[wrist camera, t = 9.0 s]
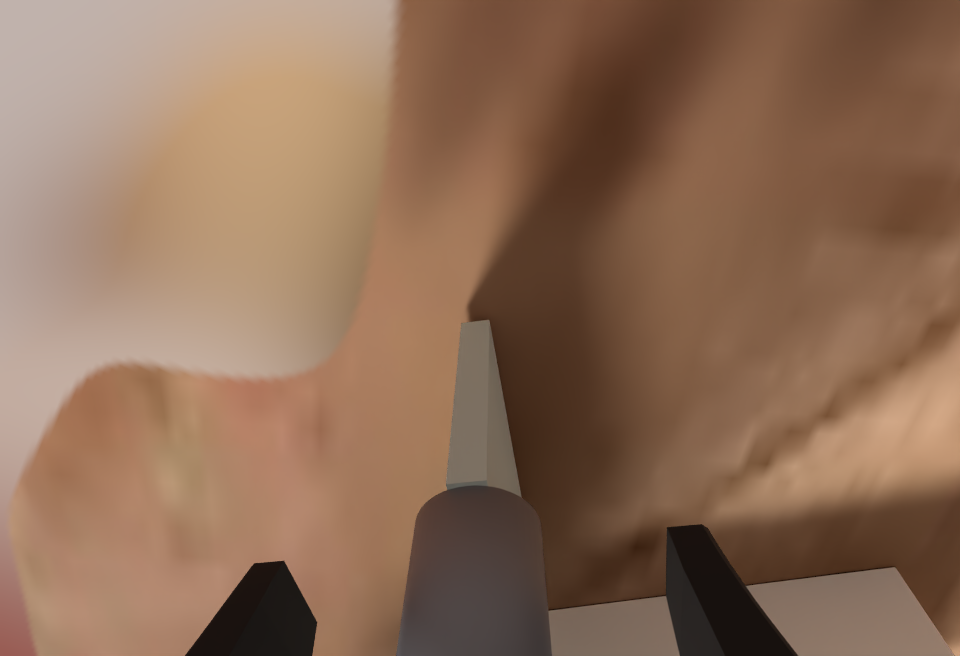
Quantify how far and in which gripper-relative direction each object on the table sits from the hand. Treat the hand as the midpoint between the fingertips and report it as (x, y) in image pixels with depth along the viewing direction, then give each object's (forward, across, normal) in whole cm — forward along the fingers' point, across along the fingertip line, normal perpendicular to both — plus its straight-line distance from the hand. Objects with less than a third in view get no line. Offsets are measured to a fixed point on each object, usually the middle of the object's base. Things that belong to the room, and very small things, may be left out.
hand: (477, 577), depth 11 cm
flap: (+7, 0, +5) cm, 9 cm away
